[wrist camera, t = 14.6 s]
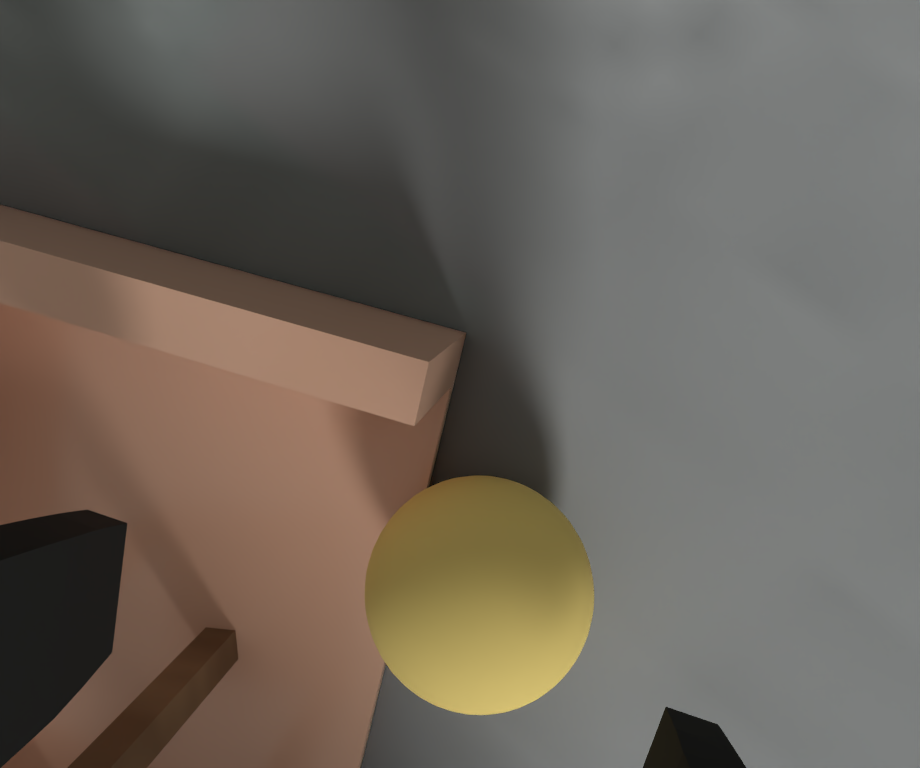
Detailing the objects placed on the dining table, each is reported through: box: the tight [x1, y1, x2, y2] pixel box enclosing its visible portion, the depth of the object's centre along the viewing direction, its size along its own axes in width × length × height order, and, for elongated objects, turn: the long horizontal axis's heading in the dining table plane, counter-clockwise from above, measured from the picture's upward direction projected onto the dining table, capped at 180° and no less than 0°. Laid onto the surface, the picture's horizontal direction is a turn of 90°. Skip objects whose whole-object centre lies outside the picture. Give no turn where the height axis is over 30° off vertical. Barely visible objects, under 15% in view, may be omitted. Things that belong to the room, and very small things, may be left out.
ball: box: [365, 475, 594, 715], centre depth 11 cm, size 4×4×4 cm
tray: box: [0, 205, 466, 768], centre depth 14 cm, size 16×11×3 cm
